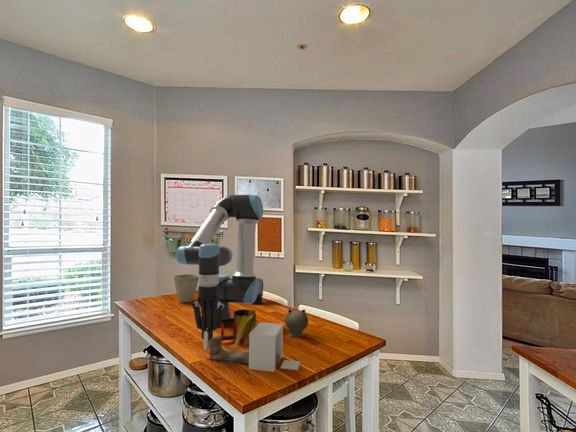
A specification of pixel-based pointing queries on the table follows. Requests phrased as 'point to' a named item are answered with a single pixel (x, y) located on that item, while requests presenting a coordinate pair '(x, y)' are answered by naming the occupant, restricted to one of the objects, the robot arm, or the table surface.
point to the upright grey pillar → (265, 346)
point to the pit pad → (231, 362)
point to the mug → (240, 326)
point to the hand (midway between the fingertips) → (207, 347)
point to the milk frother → (259, 293)
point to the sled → (230, 352)
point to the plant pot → (186, 286)
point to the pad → (290, 365)
